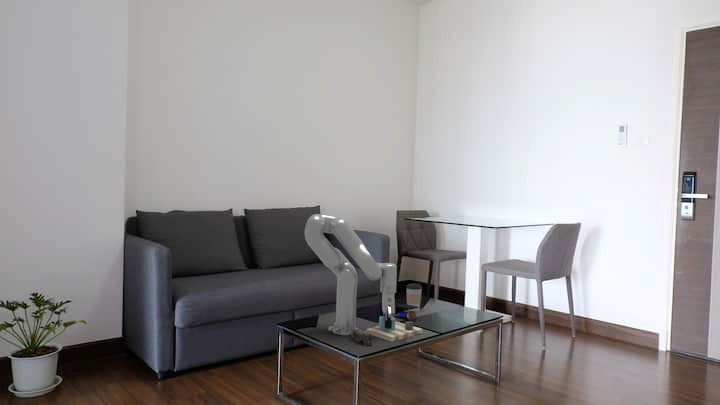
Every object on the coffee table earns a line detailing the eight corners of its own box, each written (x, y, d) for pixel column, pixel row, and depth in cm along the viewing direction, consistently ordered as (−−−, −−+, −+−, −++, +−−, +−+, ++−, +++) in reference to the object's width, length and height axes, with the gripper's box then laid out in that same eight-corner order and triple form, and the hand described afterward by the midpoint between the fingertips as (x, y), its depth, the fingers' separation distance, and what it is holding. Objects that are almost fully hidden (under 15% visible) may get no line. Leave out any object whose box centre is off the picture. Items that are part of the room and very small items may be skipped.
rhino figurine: (353, 338, 236) (353, 325, 236) (374, 345, 226) (374, 331, 226) (346, 339, 233) (346, 326, 233) (367, 347, 223) (367, 333, 223)
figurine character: (390, 319, 278) (411, 321, 267) (389, 304, 279) (410, 306, 268) (398, 317, 283) (419, 319, 272) (398, 303, 283) (418, 305, 272)
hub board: (392, 341, 232) (392, 329, 232) (365, 333, 244) (365, 321, 244) (422, 333, 247) (422, 321, 247) (396, 325, 259) (396, 314, 259)
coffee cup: (403, 308, 298) (404, 282, 298) (417, 307, 301) (418, 282, 300) (409, 311, 289) (410, 285, 289) (423, 311, 292) (424, 285, 292)
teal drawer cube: (395, 330, 243) (395, 319, 243) (380, 330, 243) (381, 319, 242) (392, 326, 250) (393, 315, 250) (379, 326, 249) (379, 315, 249)
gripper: (398, 293, 237) (397, 331, 238) (393, 285, 255) (392, 321, 255) (382, 292, 237) (381, 331, 237) (378, 285, 254) (377, 321, 255)
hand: (387, 325), depth 246 cm, fingers closed on teal drawer cube, 6 cm apart
